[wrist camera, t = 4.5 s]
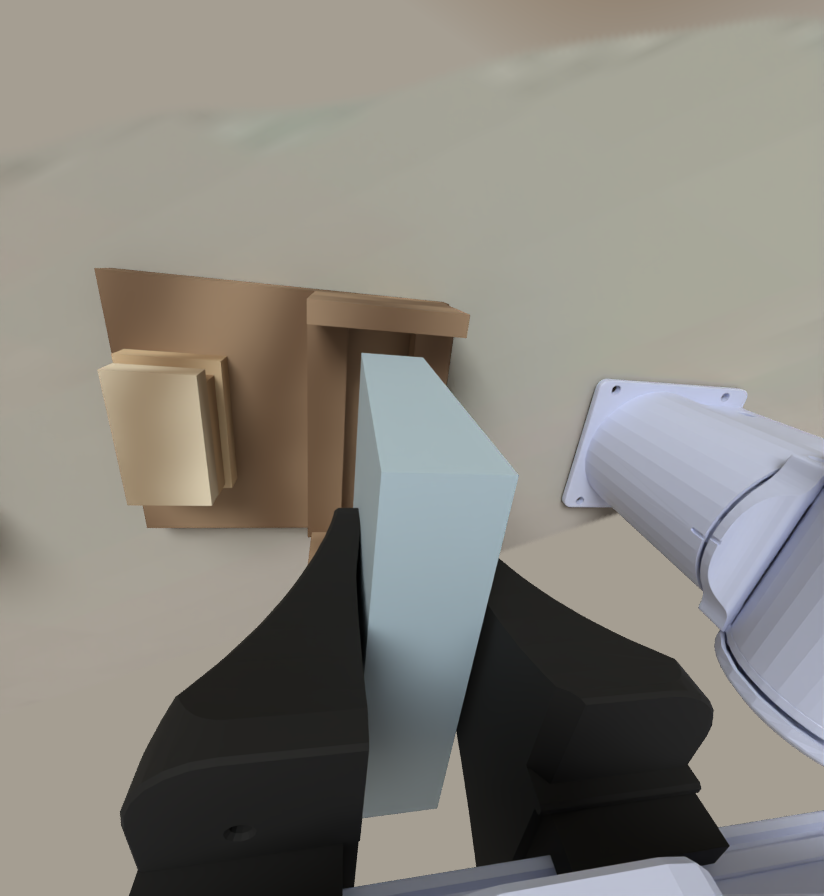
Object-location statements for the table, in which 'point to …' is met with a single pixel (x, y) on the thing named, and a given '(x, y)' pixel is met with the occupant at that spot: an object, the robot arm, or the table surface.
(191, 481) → the offcut stack
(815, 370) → the table surface
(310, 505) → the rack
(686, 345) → the table surface
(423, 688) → the tall sheet
